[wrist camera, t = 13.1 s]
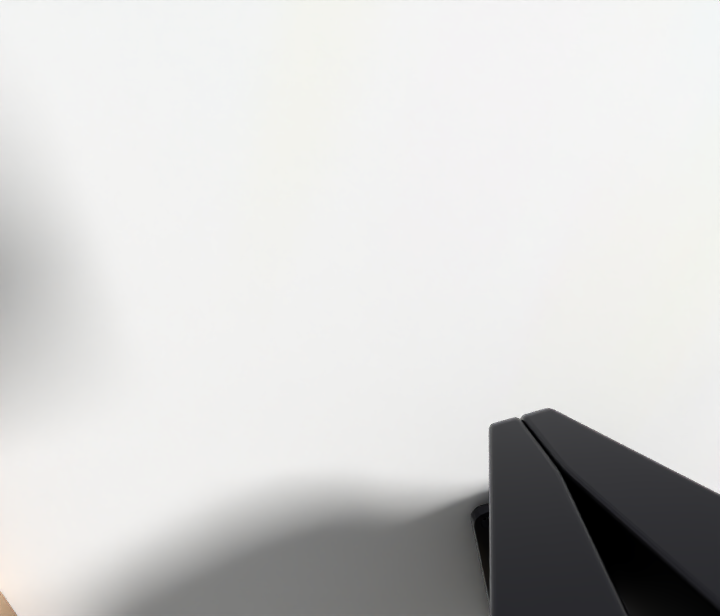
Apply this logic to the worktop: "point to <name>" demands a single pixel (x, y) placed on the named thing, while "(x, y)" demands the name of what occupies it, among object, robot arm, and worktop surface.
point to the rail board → (5, 607)
